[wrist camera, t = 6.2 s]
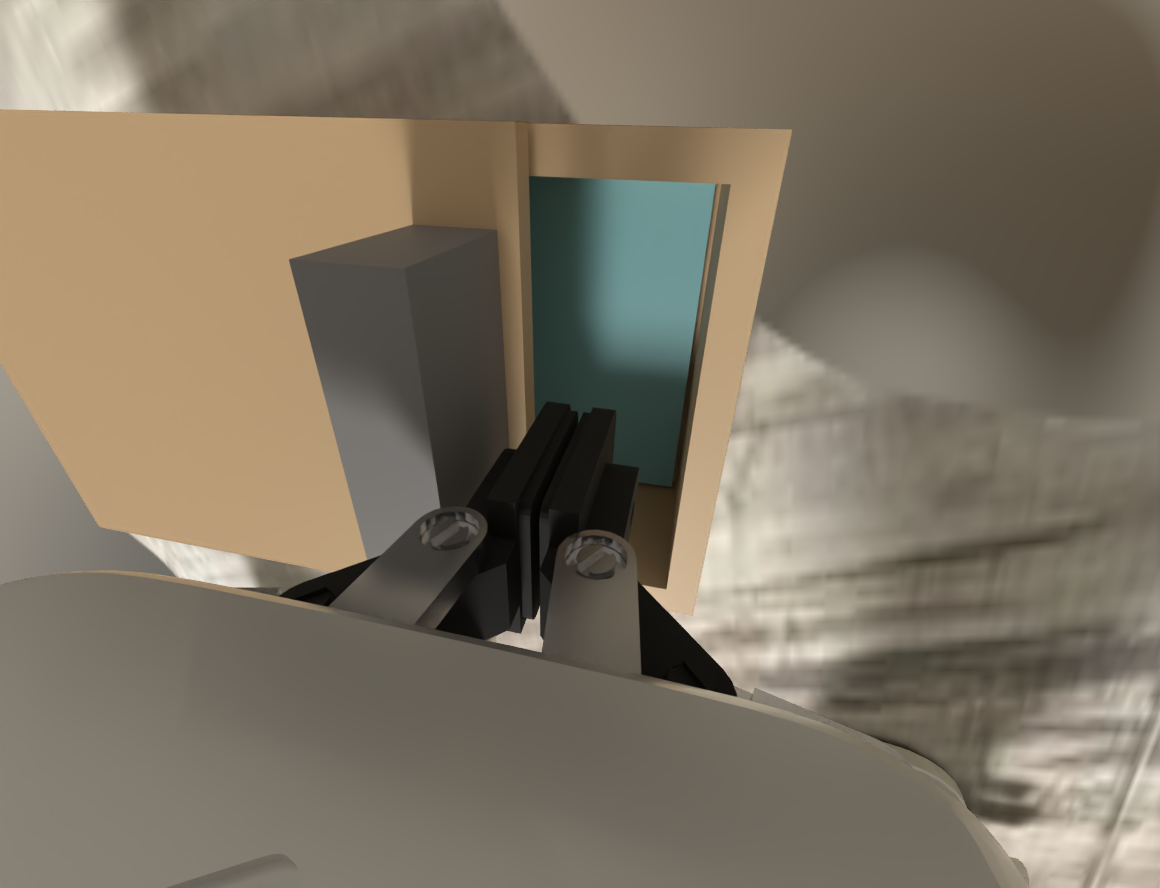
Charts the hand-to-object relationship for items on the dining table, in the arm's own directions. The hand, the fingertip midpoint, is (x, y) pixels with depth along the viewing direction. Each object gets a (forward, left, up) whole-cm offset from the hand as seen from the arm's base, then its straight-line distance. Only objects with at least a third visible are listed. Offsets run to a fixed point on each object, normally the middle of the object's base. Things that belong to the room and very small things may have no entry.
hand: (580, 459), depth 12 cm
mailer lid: (+11, 0, -2) cm, 11 cm away
